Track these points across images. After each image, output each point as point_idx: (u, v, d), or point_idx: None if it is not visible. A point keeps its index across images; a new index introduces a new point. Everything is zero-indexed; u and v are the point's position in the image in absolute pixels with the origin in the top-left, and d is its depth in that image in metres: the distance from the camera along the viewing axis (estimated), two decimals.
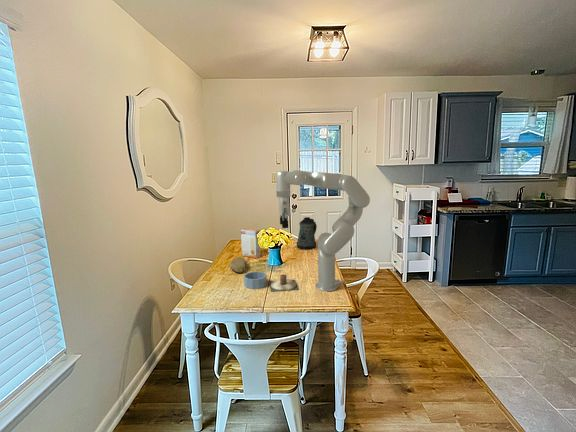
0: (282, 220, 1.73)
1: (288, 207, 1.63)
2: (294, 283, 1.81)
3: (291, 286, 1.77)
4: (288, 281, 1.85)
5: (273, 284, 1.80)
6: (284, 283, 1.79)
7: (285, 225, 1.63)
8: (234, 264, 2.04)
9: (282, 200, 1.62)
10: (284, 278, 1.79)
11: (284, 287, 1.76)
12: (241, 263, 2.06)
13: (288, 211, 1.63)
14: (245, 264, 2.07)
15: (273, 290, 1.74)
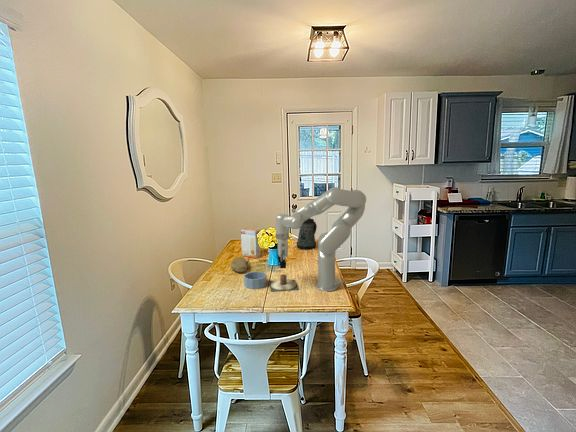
0: (280, 259, 1.83)
1: (286, 249, 1.73)
2: (294, 283, 1.81)
3: (291, 286, 1.77)
4: (288, 281, 1.85)
5: (273, 284, 1.80)
6: (284, 283, 1.79)
7: (283, 266, 1.73)
8: (235, 264, 2.04)
9: (281, 242, 1.72)
10: (284, 278, 1.79)
11: (284, 287, 1.76)
12: (242, 263, 2.06)
13: (286, 253, 1.73)
14: (246, 264, 2.07)
15: (273, 290, 1.74)
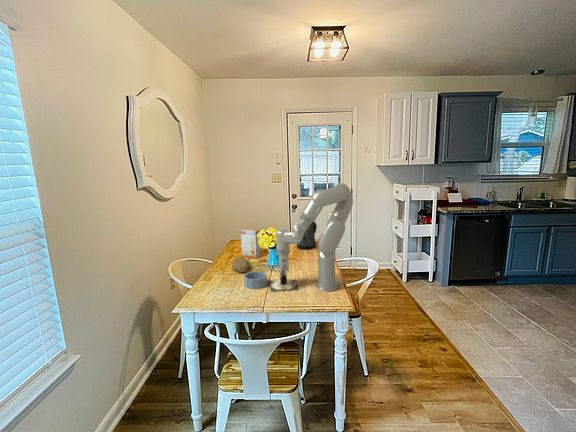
0: None
1: (287, 264, 1.74)
2: (294, 283, 1.81)
3: (291, 286, 1.77)
4: (288, 281, 1.85)
5: (273, 284, 1.80)
6: (284, 283, 1.79)
7: (284, 281, 1.78)
8: (236, 264, 2.04)
9: (281, 258, 1.74)
10: None
11: (284, 287, 1.76)
12: (243, 263, 2.06)
13: (287, 268, 1.75)
14: (247, 264, 2.07)
15: (273, 290, 1.74)
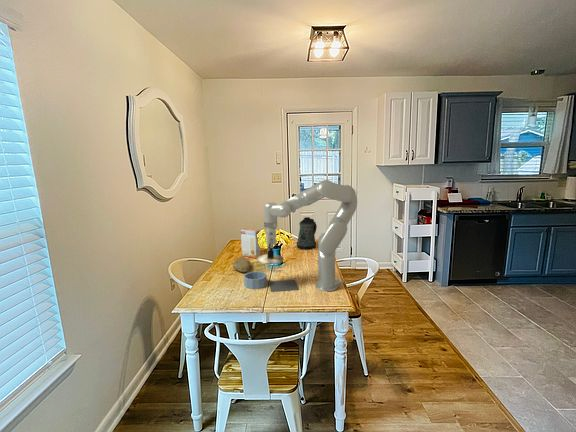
0: None
1: (274, 237, 1.72)
2: (281, 258, 1.80)
3: (278, 260, 1.75)
4: (275, 256, 1.83)
5: (260, 258, 1.78)
6: None
7: (270, 255, 1.76)
8: (238, 264, 2.04)
9: (269, 231, 1.72)
10: None
11: (271, 261, 1.74)
12: (245, 263, 2.06)
13: (274, 241, 1.73)
14: None
15: (273, 290, 1.74)
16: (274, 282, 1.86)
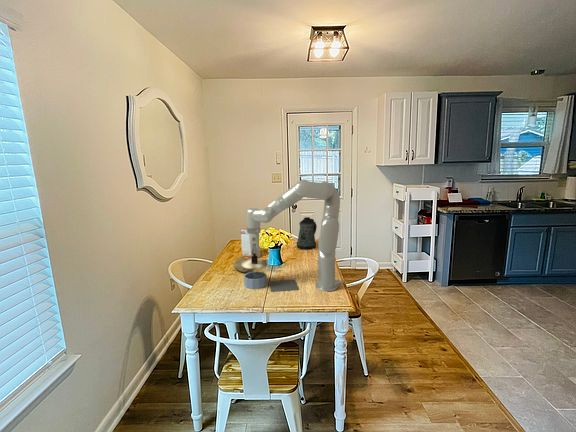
0: None
1: (257, 243, 1.74)
2: (265, 263, 1.81)
3: (261, 265, 1.77)
4: (260, 261, 1.84)
5: (244, 263, 1.80)
6: None
7: (254, 260, 1.77)
8: (239, 264, 2.04)
9: (251, 236, 1.73)
10: None
11: (254, 266, 1.76)
12: None
13: (257, 246, 1.74)
14: None
15: (273, 290, 1.74)
16: (274, 282, 1.86)
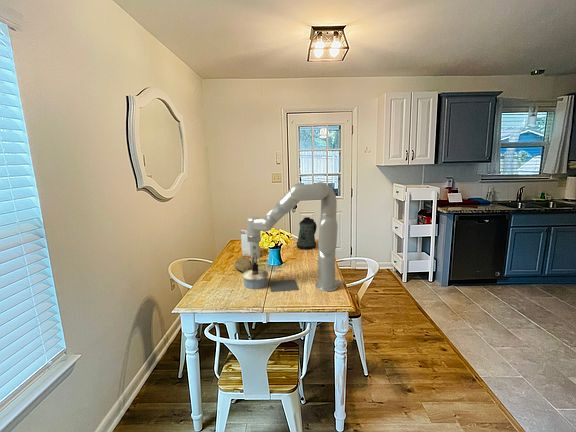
0: None
1: (258, 251, 1.75)
2: (266, 273, 1.82)
3: (262, 276, 1.78)
4: (260, 271, 1.85)
5: (245, 274, 1.81)
6: (256, 273, 1.80)
7: (255, 268, 1.76)
8: (240, 264, 2.04)
9: (252, 245, 1.74)
10: None
11: (255, 277, 1.77)
12: (246, 263, 2.06)
13: (258, 255, 1.75)
14: (250, 264, 2.08)
15: (273, 290, 1.74)
16: (274, 282, 1.86)
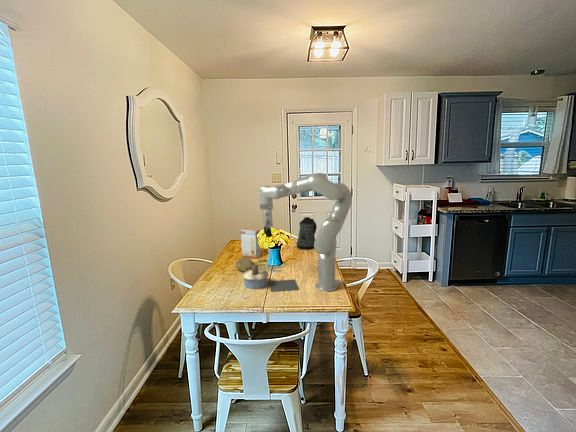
0: (266, 230, 1.91)
1: (271, 218, 1.81)
2: (266, 273, 1.82)
3: (262, 276, 1.78)
4: (260, 271, 1.85)
5: (245, 274, 1.81)
6: (256, 273, 1.80)
7: (268, 234, 1.81)
8: (241, 264, 2.04)
9: (265, 212, 1.80)
10: (255, 268, 1.80)
11: (255, 277, 1.77)
12: (248, 263, 2.06)
13: (271, 222, 1.81)
14: None
15: (273, 290, 1.74)
16: (274, 282, 1.86)
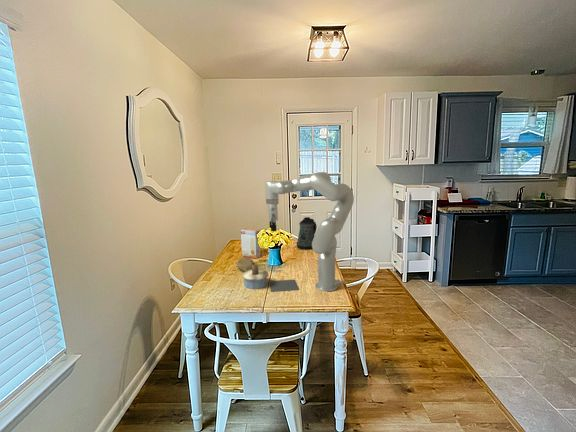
0: None
1: (276, 213, 1.85)
2: (266, 273, 1.82)
3: (262, 276, 1.78)
4: (260, 271, 1.85)
5: (245, 274, 1.81)
6: (256, 273, 1.80)
7: (273, 229, 1.85)
8: (242, 264, 2.04)
9: (271, 207, 1.84)
10: (255, 268, 1.80)
11: (255, 277, 1.77)
12: (249, 263, 2.06)
13: (276, 216, 1.85)
14: None
15: (273, 290, 1.74)
16: (274, 282, 1.86)
